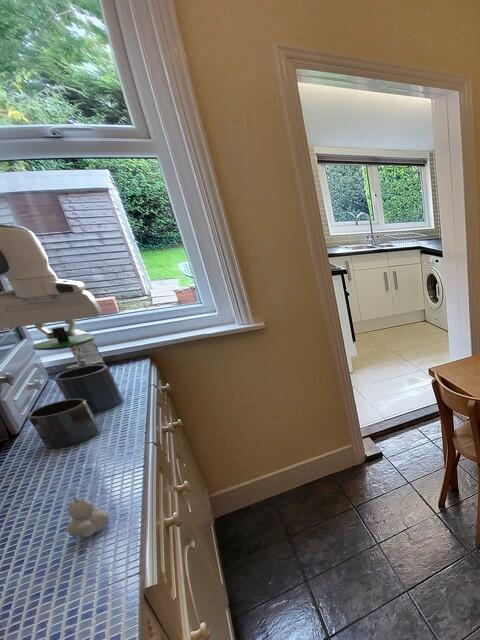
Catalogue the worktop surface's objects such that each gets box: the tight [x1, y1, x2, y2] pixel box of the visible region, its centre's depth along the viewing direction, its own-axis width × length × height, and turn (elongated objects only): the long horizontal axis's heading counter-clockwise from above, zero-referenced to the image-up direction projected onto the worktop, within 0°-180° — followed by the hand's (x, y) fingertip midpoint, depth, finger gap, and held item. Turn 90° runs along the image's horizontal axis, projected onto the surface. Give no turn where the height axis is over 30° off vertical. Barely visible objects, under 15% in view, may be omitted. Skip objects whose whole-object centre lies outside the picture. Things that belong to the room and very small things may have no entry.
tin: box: [53, 365, 124, 415], centre depth 123 cm, size 11×11×12 cm
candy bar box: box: [69, 328, 107, 366], centre depth 147 cm, size 11×5×16 cm, turn 59°
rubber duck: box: [66, 495, 110, 538], centre depth 73 cm, size 5×7×8 cm
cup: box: [26, 399, 101, 450], centre depth 106 cm, size 10×10×9 cm
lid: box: [32, 325, 95, 351], centre depth 116 cm, size 12×12×5 cm
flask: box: [65, 359, 106, 371], centre depth 136 cm, size 9×3×11 cm, turn 133°
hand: (62, 337), depth 116 cm, fingers closed on lid, 2 cm apart
